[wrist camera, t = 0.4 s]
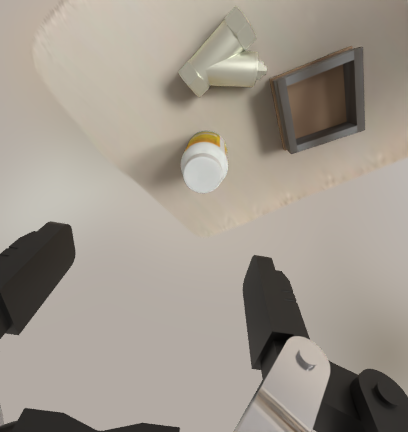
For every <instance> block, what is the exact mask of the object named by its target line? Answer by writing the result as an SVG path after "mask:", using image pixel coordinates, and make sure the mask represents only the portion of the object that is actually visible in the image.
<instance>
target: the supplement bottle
mask: <svg viewBox="0 0 408 432" xmlns="http://www.w3.org/2000/svg"><path fill="white" fill-rule="evenodd" d="M181 171H182V174H183V178H184V181H185V183H186V185H187V186H188V187H189V188H190V189H191V190H193V191H195V192H197V193H209V192H211V191H213V190H215V189H216V188H217V187H218V186H219V184H220V183H221V182H222V181H223V180H224V178H225V176H226V174H227V171H228V156H227V147H226V143H225V141H224V140H223V138H222V137H221V136H220V135H219V134H217V133H215V132H212V131H201V132H199V133H197V134H195V135H194V136H193V137H192V138H191V139H190V141H189V143H188V145H187V147H186V150H185V152H184V154H183V156H182V159H181Z"/></svg>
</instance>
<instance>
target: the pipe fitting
mask: <svg viewBox="0 0 408 432" xmlns="http://www.w3.org/2000/svg"><path fill="white" fill-rule="evenodd" d="M255 40H256V34H255V32H254V30H253V28H252V26H251V24H250V22H249V21H248V19H247V18H246V16H245V15H244V14H243V12H242V11H241V10H240V9H239V8H238V7H237V6H235V7H234V8H233V9H232V10H231V12H230V13H229V14H228V15H227V16H226V17H225V19H224V20H223V22H222V23H221V24H220V25H219V27H218V28H217V29H216V30H215V31H214V32H213V34H212V35H211V36H210V37H209V38H208V39H207V40H206V42H205V43H204V44H203V45H202V46H201V47H200V49H199V50H198V51H197V52H196V53H195V54H194V55H193V57H192V58H191V59H190V60H188V61H187V62H186V64H185V65H184V66H183V67H182V68H181V69H180V71H179V72H178V73H179V75H180V76H181V78H182V79H183V80H184V82H185V83H186V84H187V85H188V87H189V88H190V89H191V90H192V91H193V92H194V93H195V94H196V95H197V96H198V97H201V96H202V95H203V94H204V93H205V92H206V91H207V90H208V89H209V87H210V85H215V86H238V87H253V86H254V85H255V82H256V79H257V80H260V79H261V77H262V75H266V72H267V66H264V63H263V61H259V55H258V52H250V51H245V50H246V49H247V48H248V47H249V46H250V45H251V44H252V43H253V42H254V41H255Z"/></svg>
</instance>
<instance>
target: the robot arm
mask: <svg viewBox="0 0 408 432" xmlns="http://www.w3.org/2000/svg"><path fill="white" fill-rule="evenodd" d="M74 259H75V246H74V241H73V234H72V229H71V226H70V225H68V224H62V223H56V222H48V223H46V224H45V225H44V226H43V227H42V228H40V229H39V230H38V231H37V232H35V231H33V232H31V233H29V234H27V235H25V236H23V237H20V238H19V239H18V240H17V241H15V242H14V243H13V244H12V245H10V246H9V248H8V249H5V250H4V251H3V252H2V253H1V254H0V339H1V337H2V336H3V335H4V334H5V333H7V334H14V335H19V334H20V333H21V332H22V330H23V329H24V328H25V326H26V325H27V324H28V322H29V321H30V320H31V318H32V317H33V316H34V314H35V313H36V312H37V310H38V309H39V308H40V306H41V305H42V304H43V303H44V301H45V300H46V298H47V297H48V296H49V294H50V293H51V292H52V291H53V289H54V288H55V287H56V285H57V284H58V283H59V282H60V280H61V279H62V278H63V276H64V275H65V273H66V272H67V271H68V270H69V268H70V267H71V266H72V264H73V262H74ZM243 298H244V305H245V314H246V323H247V332H248V340H249V349H250V357H251V365H252V369H257V370H261V371H262V377H263V380H262V382H261V384H260V385H259V387H258V389H257V391H256V393H255V394H254V396H253V398H252V400H251V402H250V403H249V405H248V407H247V408H246V410H245V412H244V414H243V416H242V417H241V419H240V421H239V423H238V424H237V426H236V428H235V430H234V431H233V432H312V429H313V430H315V431H317V432H408V397H407V395H406V394H405V392H404V391H403V390H402V389H401V388H400V386H399V385H398V384H397V383H396V382H395V381H393V380H392V379H391V378H390V377H388V376H387V375H385V374H383V373H382V372H379V371H377V370H374V369H366V370H363V371H362V372H361V373H360V374H359V375H357V374H355V373H353V372H351V371H349V370H347V369H345V368H342V367H340V366H338V365H336V364H334V363H332V362H330V361H329V360H328V359H327V357H326V355H325V354H324V352H323V351H322V350H321V349H320V347H319V346H318V345H316V344H315V343H314V342H312V341H311V340H310V338H309V336H308V333H307V330H306V327H305V324H304V321H303V318H302V316H301V313H300V310H299V307H298V304H297V303H296V298H295V295H294V294H293V290H292V287H291V284H290V281H289V280H288V279H287V277H286V276H285V275H284V274H283V273H282V271H276V270H275V267H274V264H273V261H272V258H269V257H264V256H257V255H254V256H253V257H252V259H251V262H250V265H249V268H248V270H247V273H246V276H245V279H244V283H243ZM179 430H180V428H179V427H171V426H163V425H155V424H147V423H140V424H135V425H130V426H125V427H120V428H115V429H110V430H105V431H97V430H95V429H93V428H91V427H89V426H87V425H85V424H83V423H81V422H80V421H77V420H76V419H74V418H72V417H70V416H68V415H66V414H64V413H60V412H52V411H44V410H36V409H28V408H25V409H24V410H23V412H22V414H21V416H20V417H19V419H18V421H14V422H11V423H8V424H4V422H3V414H2V410H1V407H0V432H179Z"/></svg>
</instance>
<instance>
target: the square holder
mask: <svg viewBox="0 0 408 432" xmlns="http://www.w3.org/2000/svg"><path fill="white" fill-rule="evenodd" d="M269 80H270V85H271V90H272V95H273V100H274V105H275V109H276V114H277V119H278V124H279V129H280V134H281V139H282V144H283V149H284V150H288V151H289V152H290V153H291V154H293V153H296V152H300V151H303V150H306V149H309V148H312V147H315V146H318V145H321V144H324V143H327V142H330V141H333V140H336V139H339V138H342V137H345V136H348V135H352V134H355V133H358V132H361V131H364V130H365V111H364V72H363V47H359V48H354V49H352V46H350V47H347V48H345V49H342V50H340V51H337V52H335V53H332V54H330V55H327V56H325V57H322V58H320V59H318V60H315V61H313V62H310V63H308V64H305V65H303V66H300V67H298V68H295V69H293V70H290V71H288V72H286V73H283V74H281V75H278V76H276V77H273V78H271V79H269Z"/></svg>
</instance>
